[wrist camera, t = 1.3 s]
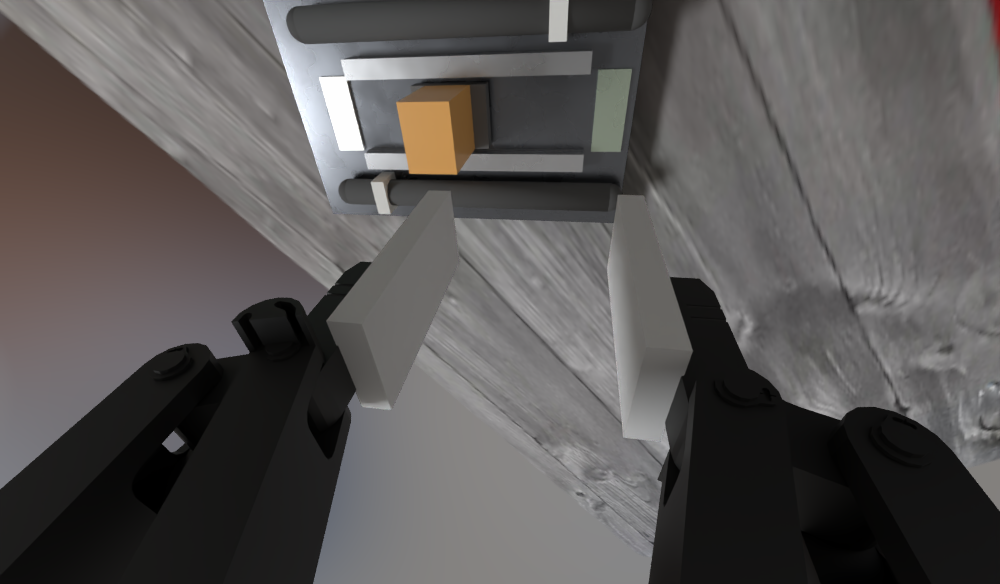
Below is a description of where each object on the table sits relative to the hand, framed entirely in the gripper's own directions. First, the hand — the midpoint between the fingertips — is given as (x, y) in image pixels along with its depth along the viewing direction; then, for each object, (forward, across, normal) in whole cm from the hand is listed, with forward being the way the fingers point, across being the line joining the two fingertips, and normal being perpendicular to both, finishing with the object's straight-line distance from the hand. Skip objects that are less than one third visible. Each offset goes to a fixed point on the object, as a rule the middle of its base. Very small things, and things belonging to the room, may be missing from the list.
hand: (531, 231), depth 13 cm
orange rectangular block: (+16, -7, 0) cm, 18 cm away
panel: (+19, -7, 0) cm, 20 cm away
